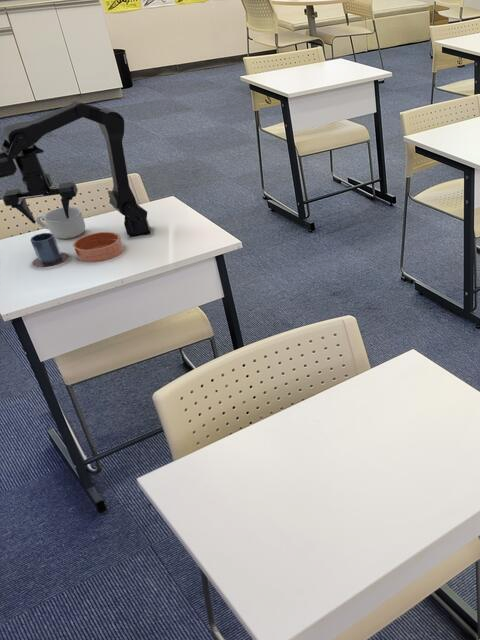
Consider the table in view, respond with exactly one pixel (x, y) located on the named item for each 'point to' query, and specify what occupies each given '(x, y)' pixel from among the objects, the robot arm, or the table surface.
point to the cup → (46, 248)
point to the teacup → (63, 222)
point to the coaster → (64, 258)
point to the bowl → (98, 247)
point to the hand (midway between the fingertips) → (51, 220)
